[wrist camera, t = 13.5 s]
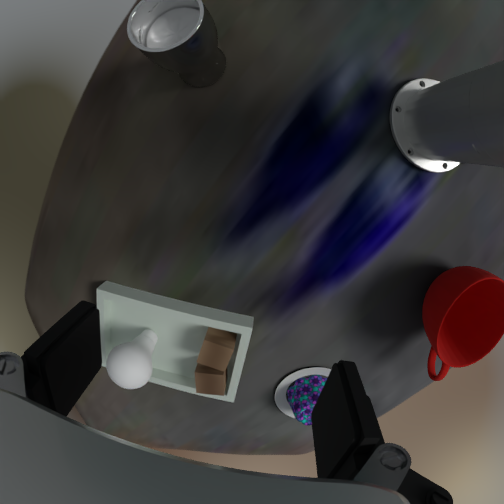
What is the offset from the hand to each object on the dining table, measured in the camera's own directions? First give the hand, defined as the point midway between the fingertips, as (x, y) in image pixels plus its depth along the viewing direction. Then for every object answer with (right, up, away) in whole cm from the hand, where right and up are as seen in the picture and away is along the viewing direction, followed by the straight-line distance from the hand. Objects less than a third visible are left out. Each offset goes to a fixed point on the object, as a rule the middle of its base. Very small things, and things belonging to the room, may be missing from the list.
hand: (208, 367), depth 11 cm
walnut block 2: (-4, -13, +33) cm, 36 cm away
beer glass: (-4, +27, +22) cm, 35 cm away
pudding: (+11, -18, +35) cm, 41 cm away
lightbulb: (-13, -8, +32) cm, 35 cm away
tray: (-10, -9, +33) cm, 36 cm away
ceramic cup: (+30, -4, +29) cm, 42 cm away
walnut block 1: (-3, -8, +31) cm, 33 cm away
